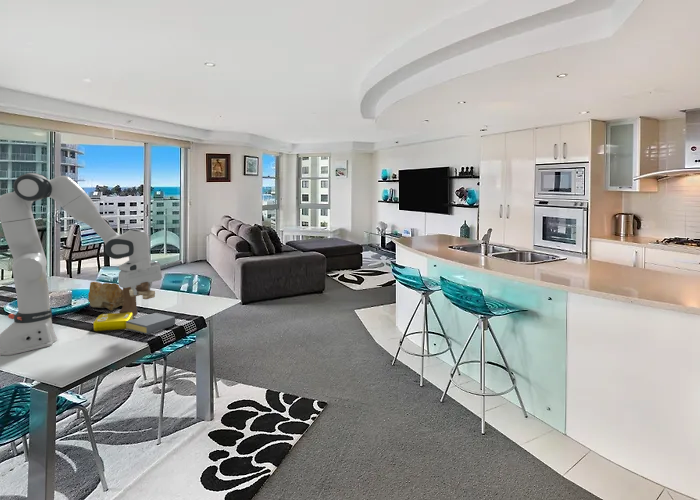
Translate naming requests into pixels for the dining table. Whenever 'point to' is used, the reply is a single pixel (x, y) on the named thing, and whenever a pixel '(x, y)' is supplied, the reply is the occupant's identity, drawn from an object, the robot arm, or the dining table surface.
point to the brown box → (142, 287)
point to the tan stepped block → (144, 294)
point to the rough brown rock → (105, 295)
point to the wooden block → (128, 302)
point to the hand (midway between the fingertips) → (142, 293)
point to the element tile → (112, 321)
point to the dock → (150, 323)
